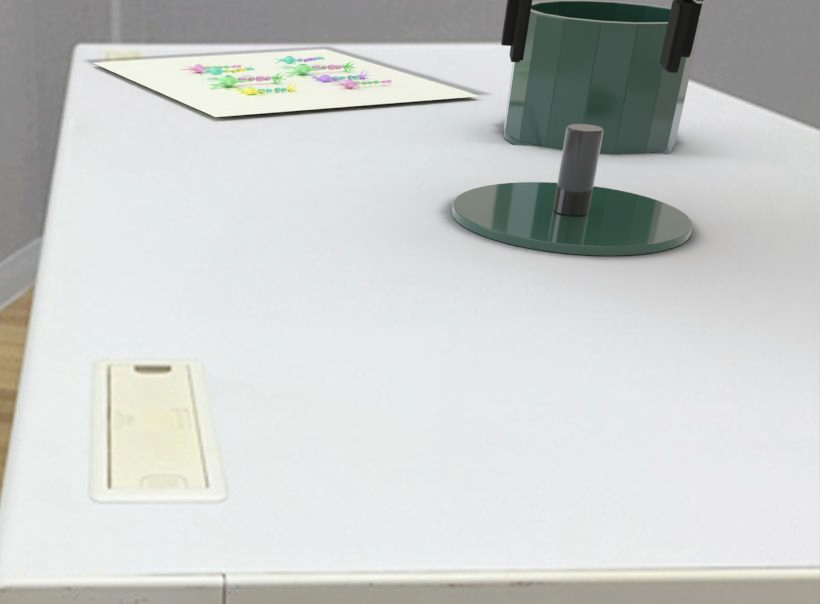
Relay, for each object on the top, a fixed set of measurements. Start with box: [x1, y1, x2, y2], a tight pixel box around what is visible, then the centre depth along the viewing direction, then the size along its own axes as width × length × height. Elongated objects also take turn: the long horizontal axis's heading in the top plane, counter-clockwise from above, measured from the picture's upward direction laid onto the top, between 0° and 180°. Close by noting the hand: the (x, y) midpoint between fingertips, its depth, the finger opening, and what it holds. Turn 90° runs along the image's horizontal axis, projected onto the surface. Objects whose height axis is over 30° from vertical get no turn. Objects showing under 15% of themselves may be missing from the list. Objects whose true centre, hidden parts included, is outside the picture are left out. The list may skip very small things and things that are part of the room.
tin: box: [503, 0, 703, 155], centre depth 104 cm, size 15×15×10 cm
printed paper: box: [93, 49, 479, 118], centre depth 127 cm, size 30×30×2 cm
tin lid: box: [451, 124, 693, 257], centre depth 81 cm, size 16×16×7 cm
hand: (591, 64), depth 77 cm, fingers open, 9 cm apart
